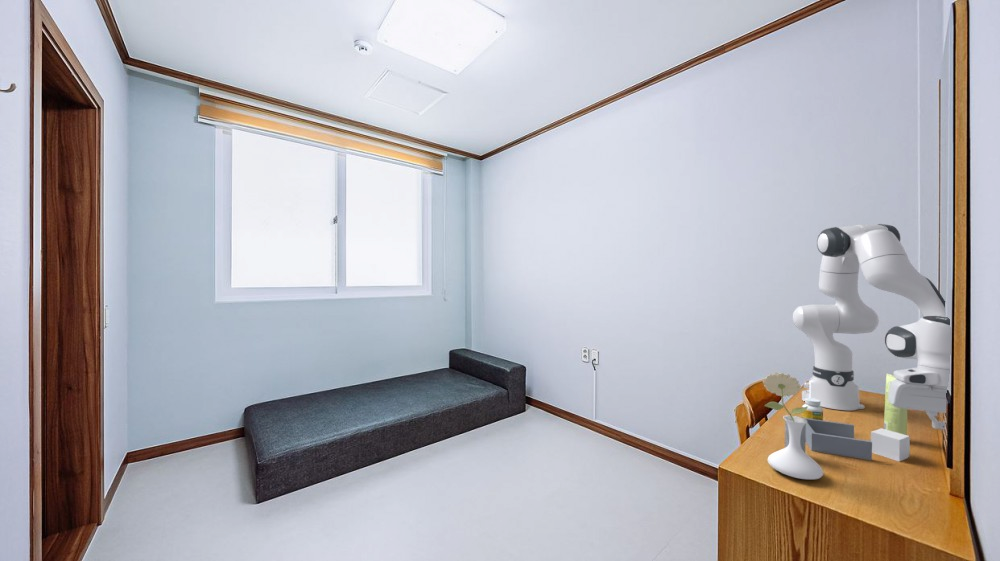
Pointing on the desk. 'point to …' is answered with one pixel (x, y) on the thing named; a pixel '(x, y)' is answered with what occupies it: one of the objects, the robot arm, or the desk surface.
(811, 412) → the supplement bottle
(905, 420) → the tube
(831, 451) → the box
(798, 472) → the flower in vase
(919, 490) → the desk surface
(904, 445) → the white cube
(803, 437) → the grey hollow cylinder
